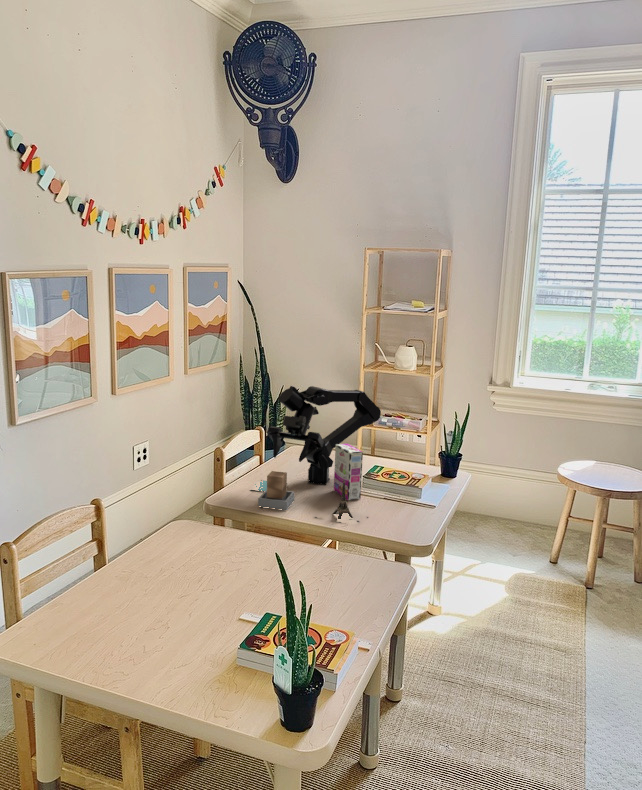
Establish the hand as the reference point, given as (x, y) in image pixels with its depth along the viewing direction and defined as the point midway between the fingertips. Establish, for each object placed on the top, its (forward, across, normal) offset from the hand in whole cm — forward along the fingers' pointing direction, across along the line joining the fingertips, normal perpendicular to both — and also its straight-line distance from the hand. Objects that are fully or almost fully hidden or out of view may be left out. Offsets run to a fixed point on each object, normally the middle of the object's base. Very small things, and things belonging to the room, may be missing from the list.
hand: (286, 459), depth 214 cm
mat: (+5, -9, +13) cm, 17 cm away
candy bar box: (+1, +17, +17) cm, 24 cm away
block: (+14, 0, +4) cm, 15 cm away
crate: (+14, 0, +4) cm, 15 cm away
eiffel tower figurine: (+15, +23, +4) cm, 27 cm away
